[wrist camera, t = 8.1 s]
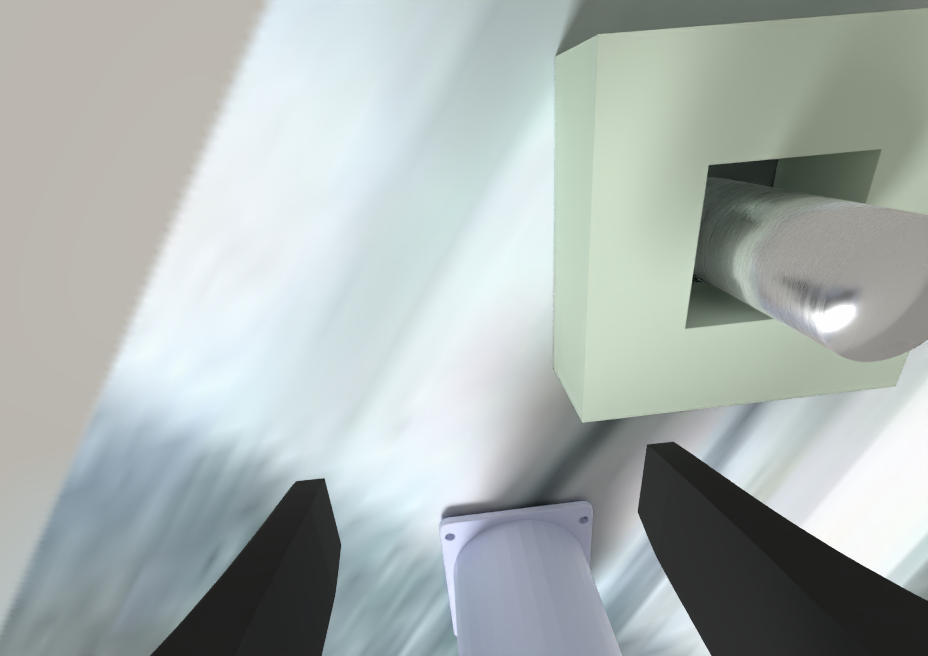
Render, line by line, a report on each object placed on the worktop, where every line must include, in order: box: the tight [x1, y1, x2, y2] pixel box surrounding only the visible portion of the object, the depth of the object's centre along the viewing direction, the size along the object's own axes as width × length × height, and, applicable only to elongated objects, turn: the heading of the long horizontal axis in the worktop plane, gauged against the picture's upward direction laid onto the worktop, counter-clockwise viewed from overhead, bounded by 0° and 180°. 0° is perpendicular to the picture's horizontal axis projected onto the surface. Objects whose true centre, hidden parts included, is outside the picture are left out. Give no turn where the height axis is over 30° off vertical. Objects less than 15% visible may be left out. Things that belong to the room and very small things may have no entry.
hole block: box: [553, 8, 928, 423], centre depth 16 cm, size 12×12×4 cm
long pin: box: [693, 177, 928, 362], centre depth 14 cm, size 4×4×8 cm
